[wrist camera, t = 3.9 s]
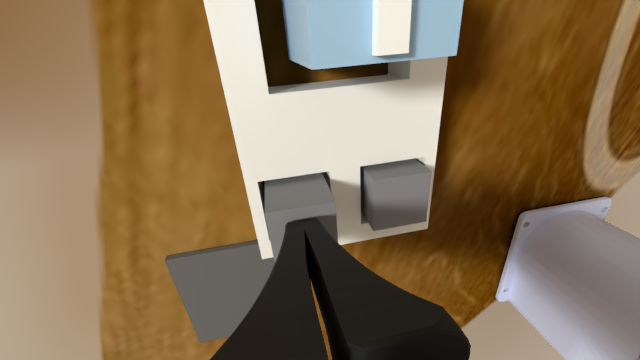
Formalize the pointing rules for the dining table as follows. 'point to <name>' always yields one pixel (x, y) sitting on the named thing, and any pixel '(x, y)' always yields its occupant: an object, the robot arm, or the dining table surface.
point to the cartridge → (369, 31)
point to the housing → (323, 122)
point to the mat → (219, 285)
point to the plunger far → (394, 193)
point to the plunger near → (298, 205)
